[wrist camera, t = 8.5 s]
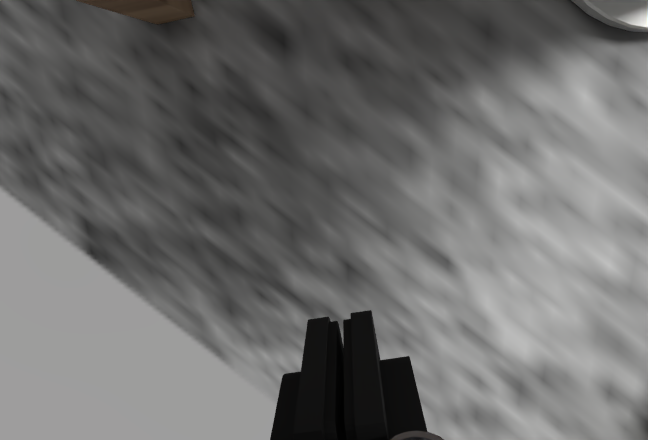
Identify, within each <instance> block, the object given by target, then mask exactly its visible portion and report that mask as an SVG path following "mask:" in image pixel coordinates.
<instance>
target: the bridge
mask: <svg viewBox="0 0 648 440" xmlns="http://www.w3.org/2000/svg"><path fill="white" fill-rule="evenodd" d="M76 1H79V2H83V3H86V4H89V5H93V6H96V7H100V8H103V9H106V10H110V11H113V12H116V13H120V14H123V15H127V16H130V17H133V18H137V19H140V20H143V21H147V22H150V23H154V24H157V25H158V24H162V23H167V22H172V21H176V20H181V19H185V18H190V17H194V16H195V15H194V11H193V7H192V3H191V0H76Z"/></svg>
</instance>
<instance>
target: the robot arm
mask: <svg viewBox="0 0 648 440" xmlns="http://www.w3.org/2000/svg"><path fill="white" fill-rule="evenodd" d="M572 1H573V2H574V3H575V4H576V5H577V6H579V7H580V8H581V9H582V10H583V11H584V12H586V13H587V14H588V15H590V16H592V17H593V18H595V19H597V20H599V21H601V22H603V23H605V24H607V25H609V26H612V27H616V28H620V29H624V30H628V31H631V32H648V0H572ZM343 326H344V348H343V343H342V338H341V333H340V329H339V324H338V321H334V322H331V321H330V318H329V317H323V318H317V319H310V320H308V324H307V331H306V339H305V346H304V353H303V361H302V368H301V372H295V373H288V374H284V375H283V378H282V382H281V387H280V392H279V397H278V402H277V407H276V413H275V418H274V423H273V428H272V433H271V438H270V440H444V439H442V438H441V437H439V436H438V435H435V434H432V433H430V432H427V428H426V424H425V420H424V416H423V412H422V407H421V403H420V399H419V395H418V391H417V386H416V382H415V378H414V374H413V370H412V365H411V361H410V357H409V356H408V357H400V358H393V359H386V360H380V356H379V350H378V345H377V339H376V334H375V328H374V323H373V317H372V312H371V310H369V311H363V312H356V313H351V319H347V320H344V321H343Z"/></svg>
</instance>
